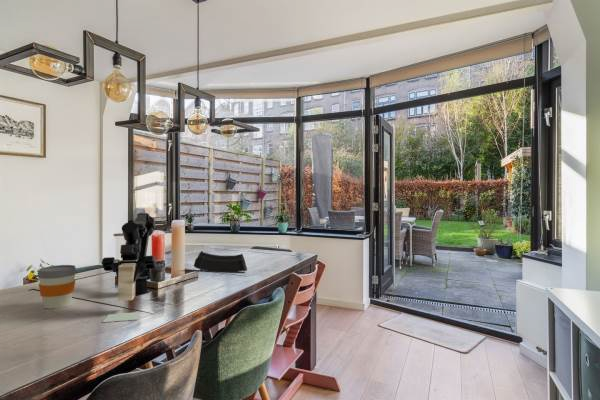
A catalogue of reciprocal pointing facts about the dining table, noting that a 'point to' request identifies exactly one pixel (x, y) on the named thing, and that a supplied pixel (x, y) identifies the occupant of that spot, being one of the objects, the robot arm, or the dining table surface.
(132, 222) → the robot arm
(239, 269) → the magazine
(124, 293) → the maple block
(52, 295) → the reusable coffee cup
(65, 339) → the dining table surface
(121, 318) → the mat
